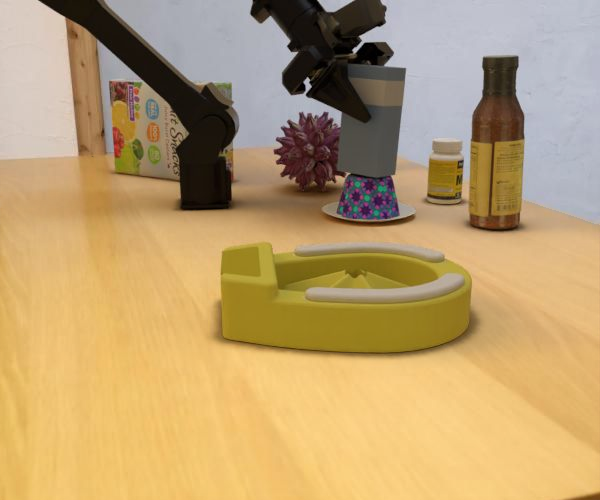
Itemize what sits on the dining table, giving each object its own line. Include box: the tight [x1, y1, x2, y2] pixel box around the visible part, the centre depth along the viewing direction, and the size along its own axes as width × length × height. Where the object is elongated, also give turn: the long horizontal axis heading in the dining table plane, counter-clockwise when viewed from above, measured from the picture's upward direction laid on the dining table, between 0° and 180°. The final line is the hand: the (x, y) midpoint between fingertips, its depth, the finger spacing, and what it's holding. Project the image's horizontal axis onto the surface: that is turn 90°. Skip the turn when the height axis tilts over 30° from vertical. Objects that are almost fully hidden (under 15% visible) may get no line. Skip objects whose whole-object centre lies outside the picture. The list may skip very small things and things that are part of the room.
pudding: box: [321, 173, 416, 223], centre depth 101 cm, size 12×12×5 cm
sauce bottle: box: [468, 54, 526, 230], centre depth 94 cm, size 7×6×20 cm
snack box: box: [108, 78, 235, 182], centre depth 125 cm, size 21×6×15 cm, turn 58°
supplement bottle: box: [426, 137, 465, 205], centre depth 109 cm, size 5×5×8 cm
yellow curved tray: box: [220, 241, 473, 354], centre depth 67 cm, size 16×21×5 cm
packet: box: [337, 64, 407, 178], centre depth 98 cm, size 6×4×13 cm
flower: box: [272, 110, 348, 192], centre depth 116 cm, size 12×12×12 cm
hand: (381, 118), depth 97 cm, fingers open, 6 cm apart
